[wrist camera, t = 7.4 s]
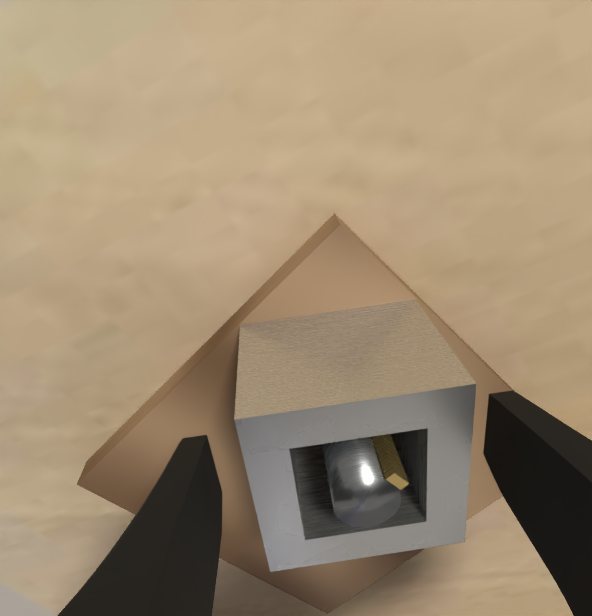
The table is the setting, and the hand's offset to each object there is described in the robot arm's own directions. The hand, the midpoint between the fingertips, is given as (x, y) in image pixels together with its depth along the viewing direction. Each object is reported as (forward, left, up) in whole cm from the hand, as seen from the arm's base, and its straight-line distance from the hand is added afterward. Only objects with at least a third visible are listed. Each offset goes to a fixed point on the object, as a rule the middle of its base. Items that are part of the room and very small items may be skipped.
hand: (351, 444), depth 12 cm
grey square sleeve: (0, 0, -3) cm, 3 cm away
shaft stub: (0, 0, -4) cm, 4 cm away
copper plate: (-2, -2, -4) cm, 5 cm away
